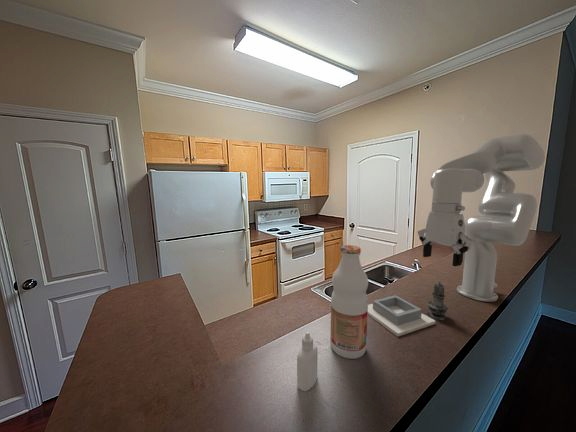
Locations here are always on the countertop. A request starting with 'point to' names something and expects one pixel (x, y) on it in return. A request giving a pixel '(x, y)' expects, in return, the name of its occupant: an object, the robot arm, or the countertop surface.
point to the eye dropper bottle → (307, 363)
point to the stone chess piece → (437, 303)
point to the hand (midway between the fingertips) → (441, 260)
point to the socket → (398, 315)
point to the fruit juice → (349, 305)
